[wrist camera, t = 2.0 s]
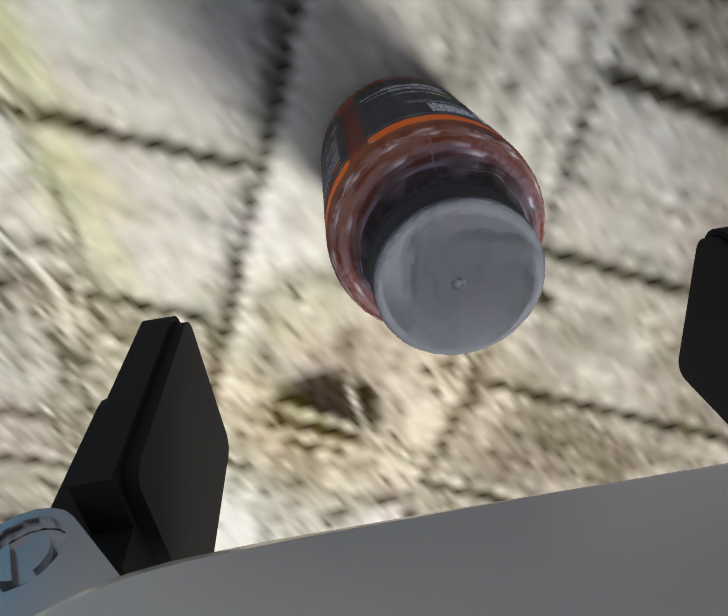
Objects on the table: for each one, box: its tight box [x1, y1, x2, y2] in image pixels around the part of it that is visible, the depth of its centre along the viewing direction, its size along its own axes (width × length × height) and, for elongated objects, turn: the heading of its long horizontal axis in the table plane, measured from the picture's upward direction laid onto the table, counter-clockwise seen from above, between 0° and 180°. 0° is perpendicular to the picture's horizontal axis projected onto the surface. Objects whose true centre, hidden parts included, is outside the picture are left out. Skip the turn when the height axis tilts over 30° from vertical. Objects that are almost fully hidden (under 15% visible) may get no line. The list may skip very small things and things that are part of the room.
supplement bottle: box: [321, 77, 545, 355], centre depth 18 cm, size 6×6×11 cm
